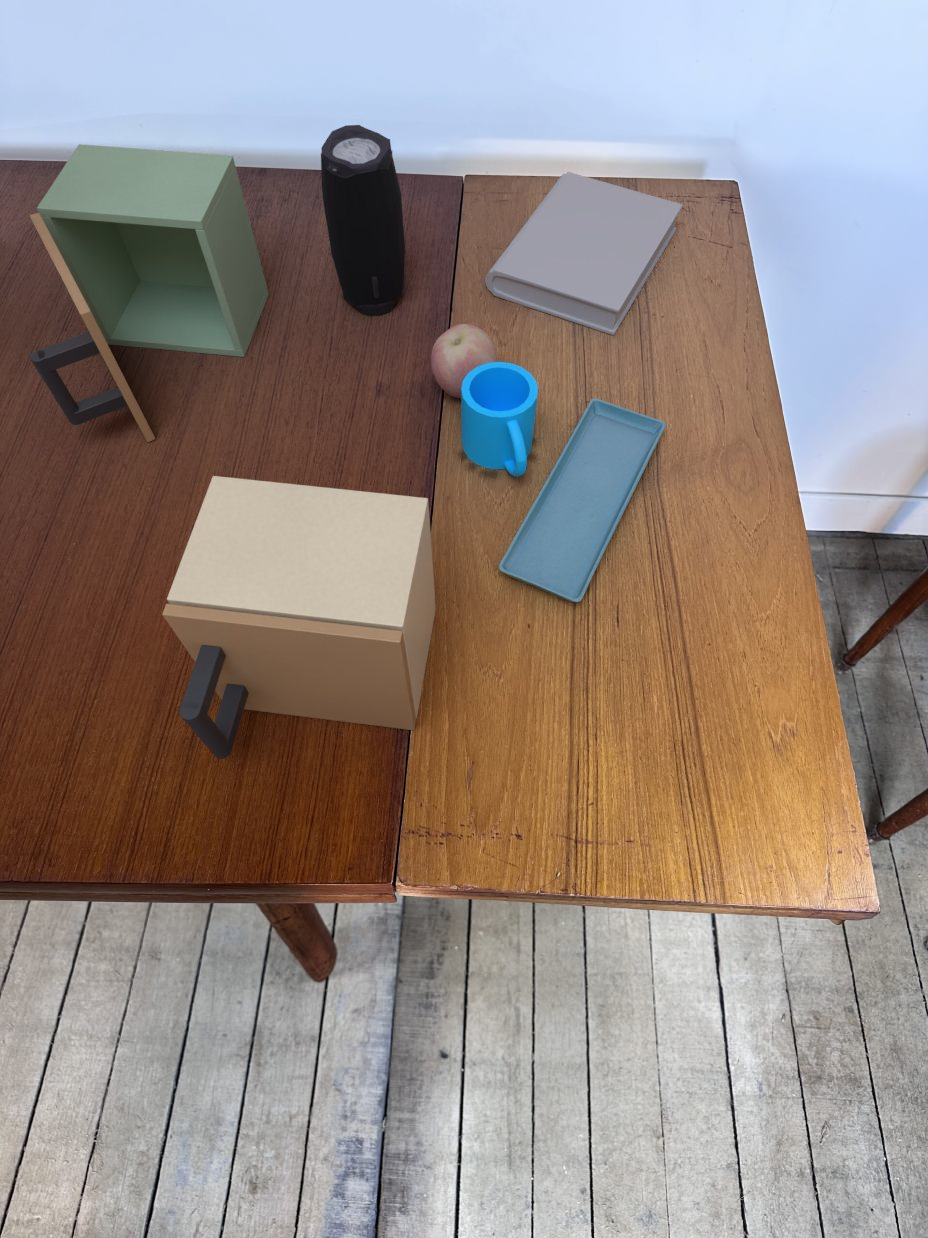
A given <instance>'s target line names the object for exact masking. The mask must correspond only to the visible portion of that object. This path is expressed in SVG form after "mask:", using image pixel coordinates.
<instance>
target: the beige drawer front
mask: <svg viewBox="0 0 928 1238" xmlns="http://www.w3.org/2000/svg"><path fill="white" fill-rule="evenodd" d="M161 615H162V617H163V618H164V620H165V621H166V623H167V624H168V625H169V627H170V628H171V629H172V631H173V632H174V634H175V636H176V637H177V638H178V640H179V641H180V642H181V644H182V645H183V647H184V648H185V650H186V651H187V652H188V654H189V655H190V657H191V658H192V659H193V660H194V662H195V663H194V666H193V669H192V671H191V674H190V678H189V681H188V684H187V686H186V690H185V693H184V695H183V698H182V701H181V704H180V706H179V711H178V713H179V716H180V718H182V720H183V721H184V722H185V723H186V724H187V725H188V726H189V728H190V729H191V730H192V731H193V733H194V734H195V735H196V736H197V737H198V739H199V740H200V741H201V742H202V743H203V744H204V745H205V747H206V748H207V749H208V750H209V751H210V753H211V754H213V756H214V757H215V758H216V759H218V760H224V759H227V758H228V757H229V756H230V755H231V754H232V751H233V748H234V744H235V741H236V738H237V734H238V731H239V727H240V725H241V720H242V717H243V714H244V710H248V711H253V712H254V711H256V712H263V713H270V714H280V715H287V716H295V717H302V718H303V717H304V718H311V719H319V720H327V721H335V722H341V723H342V722H344V723H350V724H351V723H352V724H360V725H367V726H368V725H369V726H375V727H382V728H392V729H399V730H400V729H401V730H407V731H415V730H416V725H417V719H416V717H415V711H414V704H413V697H412V691H411V684H410V678H409V671H408V665H407V658H406V651H405V645H404V638H403V632H402V631H398V630H389V629H381V628H372V627H363V626H355V625H346V624H337V623H329V622H320V621H312V620H303V619H294V618H286V617H277V616H269V615H260V614H251V613H243V612H234V611H225V610H217V609H208V608H200V607H191V606H182V605H174V604H170V603H166V604H165V605H164V609H163V610H162V613H161ZM215 693H216V695H218V697H219V698H220V700H221V701H220V703H219V708H218V711H217V714H216V718H215V721H214V720H213V719H212V718H211V717H210V715H209V714H208V713H209V711H210V708H211V705H212V701H213V699H214V695H215Z"/></svg>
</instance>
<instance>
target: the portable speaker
mask: <svg viewBox="0 0 928 1238" xmlns="http://www.w3.org/2000/svg"><path fill="white" fill-rule="evenodd" d="M320 149H321V153H320V172H321V174H320V175H321V176H320V177H321V192H322V203H323V208H324V216H325V222H326V228H327V235H328V239H329V240H328V241H329V246H330V247H329V248H330V252H331V259H332V260H333V265H334V268H335V271H336V274H337V275H336V276H337V278H338V281H339V284H340V285H339V286H340V288H341V292H342V295H343V297H344V299H345V300H347V301H348V302H349V304H351V305H352V306H354V307H355V308H357V310H358V311H359V312H360V313H361V314H362V315H365V316H366V317H372V316H373V317H374V316H383V315H385V314H388V313H390V312H392V311H393V308H394V306H395V304H396V303H397V302H399V300H400V299H401V297H402V296H403V293H404V290H405V273H406V272H405V271H406V270H405V269H406V243H405V242H406V241H405V229H404V228H405V227H404V213H403V200H402V198H403V197H402V192H401V187H400V182H399V179H398V174H397V169H396V165H395V162H394V157H393V150H392V144H391V139H390V138H388V137H386V136H385V135H382V134H381V133H380V132H377V131H374V130H371V129H369V128H367V127H364V126H362V125H360V124H351V125H344V126H341V127H339V128H336V129H334V130H332V131H331V132H330V134H329V135H328V137H327V138H326V140H325V141H324V143H323V144H322V146H321V148H320Z"/></svg>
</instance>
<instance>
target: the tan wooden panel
mask: <svg viewBox="0 0 928 1238" xmlns="http://www.w3.org/2000/svg"><path fill="white" fill-rule="evenodd" d="M29 217H30V220H31V221H32V223H33V225H34V227H35V229H36V231H37V233H38V235H39V237H40V239H41V241H42V243H43V245H44V247H45V249H46V250H47V253H48V255H49V256H50V258H51V260H52V262H53V265H54V266H55V268H56V270H57V272H58V274H59V276H60V278H61V280H62V282H63V284H64V286H65V288H66V290H67V292H68V293H69V295H70V297H71V300H72V301H73V303H74V305H75V307H76V309H77V311H78V313H79V315H80V317H81V319H82V321H83V323H84V324H85V326H86V328H87V330H88V331H87V332H85V333H82V334H79V335H76V336H73V337H70V338H67V339H65V340H62V341H59V342H56V343H53V344H51V345H48V346H46V347H42V348H39V349H37V350H35V351H33V352H32V353H30V354H29V359H30V361H31V363H32V364H33V366H34V367H35V369H36V371H37V373H38V374H39V376H40V377H41V379H42V380H43V382H44V383H45V385H46V387H47V388H48V390H49V391H50V393H51V395H52V396H53V398H54V400H55V401H56V403H57V404H58V406H59V407H60V409H61V411H62V412H63V414H64V415H65V417H66V418H67V420H68V421H69V423H70V425H73V426H78V425H79V426H80V425H82V424H84V423H87V422H90V421H92V420H94V419H97V418H99V417H102V416H104V415H107V414H110V413H112V412H115V411H117V410H120V409H122V408H126V407H128V409H129V411H130V413H131V414H132V416H133V418H134V420H135V422H136V424H137V425H138V427H139V429H140V431H141V433H142V435H143V437H144V439H145V441H146V442H147V443H149V442H152V441H155V440H156V437H155V434H154V433H153V430H152V429H151V427H150V424H149V423H148V420H147V419H146V417H145V415H144V413H143V412H142V409H141V407H140V405H139V404H138V401H137V400H136V399H137V398H135V396H134V394H133V391H132V390H131V387H130V385H129V383H128V382H127V380H126V378H125V376H124V374H123V372H122V370H121V368H120V366H119V364H118V362H117V360H116V358H115V356H114V354H113V352H112V350H111V348H110V345H109V344H107V342H106V340H105V338H104V336H103V334H102V332H101V330H100V328H99V327H98V325H97V323H96V321H95V319H94V317H93V315H92V313H91V311H90V309H89V307H88V305H87V303H86V301H85V299H84V297H83V296H82V294H81V292H80V290H79V288H78V286H77V284H76V282H75V280H74V278H73V276H72V275H71V273H70V271H69V269H68V267H67V265H66V263H65V261H64V259H63V257H62V256H61V254H60V252H59V250H58V248H57V246H56V244H55V242H54V240H53V238H52V236H51V235H50V233H49V231H48V229H47V227H46V225H45V223H44V221H43V219H42V217H41V215H40V214H39V212H38V211H37V212H35V213H33V214H29ZM99 354H100V355H101V358H102V359H103V360H104V361H103V362H105V364H106V366H107V368H108V370H109V372H110V374H111V376H112V378H113V380H114V382H115V384H116V385H117V386H114V387H113V388H110V389H107V390H104V391H102V392H99V393H96V394H94V395H92V396H89V397H87V398H83V399H81V400H78V401H76V400H75V398H74V396H72V394H71V392H70V391H69V389H68V387H67V385H66V384H65V382H64V381H63V379H62V377H61V376H60V374H59V372H58V371H57V370H58V369H61V368H64V367H66V366H69V365H72V364H74V363H77V362H80V361H83V360H85V359H88V358H90V357H93V356H96V355H99Z"/></svg>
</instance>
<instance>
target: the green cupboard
mask: <svg viewBox="0 0 928 1238" xmlns="http://www.w3.org/2000/svg"><path fill="white" fill-rule="evenodd" d="M36 211H37V213H38V212H39V214H40V215H41V217H42V219H43V221H44V223H45V225H46V227H47V229H48V231H49V233H50V235H51V236H52V238H53V240H54V242H55V244H56V246H57V248H58V250H59V252H60V254H61V256H62V257H63V259H64V261H65V263H66V265H67V267H68V269H69V271H70V273H71V275H72V276H73V278H74V280H75V282H76V284H77V286H78V288H79V290H80V292H81V294H82V296H83V297H84V299H85V301H86V303H87V305H88V307H89V309H90V311H91V313H92V315H93V317H94V319H95V321H96V323H97V325H98V327H99V328H100V330H101V332H102V334H103V336H104V338H105V340H106V342H107V344H108V346H110V345H111V346H120V347H121V346H122V347H131V348H144V349H151V350H152V349H153V350H154V349H155V350H162V351H163V350H165V351H176V352H186V353H194V354H195V353H196V354H208V355H216V356H229V357H239V358H245V356H246V354H247V352H248V349H249V347H250V344H251V342H252V338H253V336H254V333H255V331H256V329H257V326H258V324H259V320H260V318H261V316H262V314H263V313H262V312H263V310H264V307H265V305H266V302H267V300H268V297H269V295H270V293H269V289H268V286H267V282H266V278H265V274H264V270H263V266H262V262H261V259H260V254H259V251H258V247H257V243H256V239H255V235H254V231H253V228H252V224H251V221H250V220H251V219H250V216H249V213H248V209H247V205H246V201H245V197H244V194H243V190H242V186H241V181H240V179H239V175H238V171H237V166H236V163H235V159H234V156H233V155H225V154H214V153H200V152H188V151H186V152H185V151H176V150H175V151H174V150H173V151H172V150H162V149H161V150H160V149H146V148H135V147H134V148H133V147H120V146H106V145H93V144H81V143H79V144H78V145H77V146H76V148H75V150H74V151H73V152H72V154H71V156H70V157H69V158H68V160H67V161H66V163H65V164H64V166H63V168H62V169H61V170H60V172H59V173H58V175H57V176H56V178H55V179H54V181H53V182H52V184H51V186H50V187H49V189H48V190H47V191H46V193H45V195H44V196H43V198H42V199H41V200H40V202H39V204H38V205H37V206H36Z"/></svg>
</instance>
